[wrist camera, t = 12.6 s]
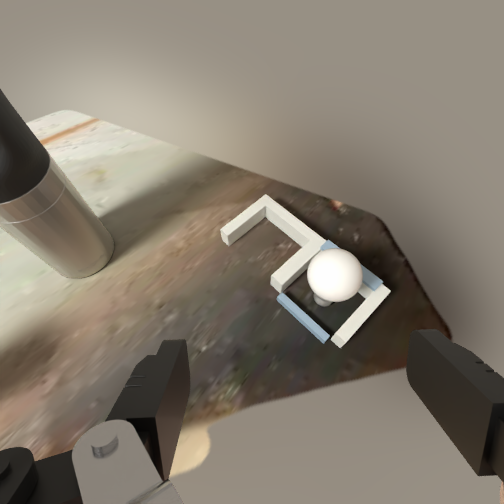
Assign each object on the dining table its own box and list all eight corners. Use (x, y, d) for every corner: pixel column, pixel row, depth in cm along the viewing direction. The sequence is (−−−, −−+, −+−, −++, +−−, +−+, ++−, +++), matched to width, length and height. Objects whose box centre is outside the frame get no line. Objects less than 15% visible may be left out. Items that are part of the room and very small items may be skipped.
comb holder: (217, 244, 48) (214, 231, 45) (265, 205, 52) (266, 191, 49) (334, 354, 40) (341, 347, 37) (383, 299, 43) (393, 289, 40)
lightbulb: (341, 277, 45) (364, 237, 36) (349, 320, 42) (376, 288, 32) (297, 278, 45) (308, 238, 36) (302, 321, 42) (315, 289, 32)
